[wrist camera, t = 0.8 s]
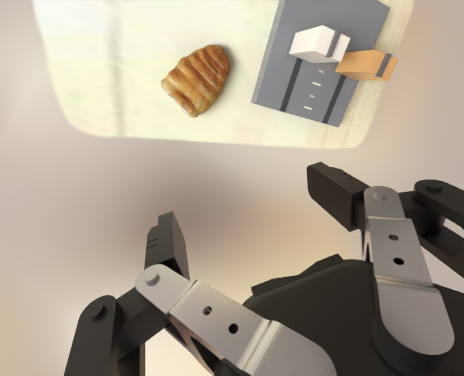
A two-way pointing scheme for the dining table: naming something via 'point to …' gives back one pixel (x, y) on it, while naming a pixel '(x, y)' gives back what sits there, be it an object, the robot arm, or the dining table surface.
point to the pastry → (198, 79)
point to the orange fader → (367, 65)
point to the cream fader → (319, 45)
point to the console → (314, 74)
